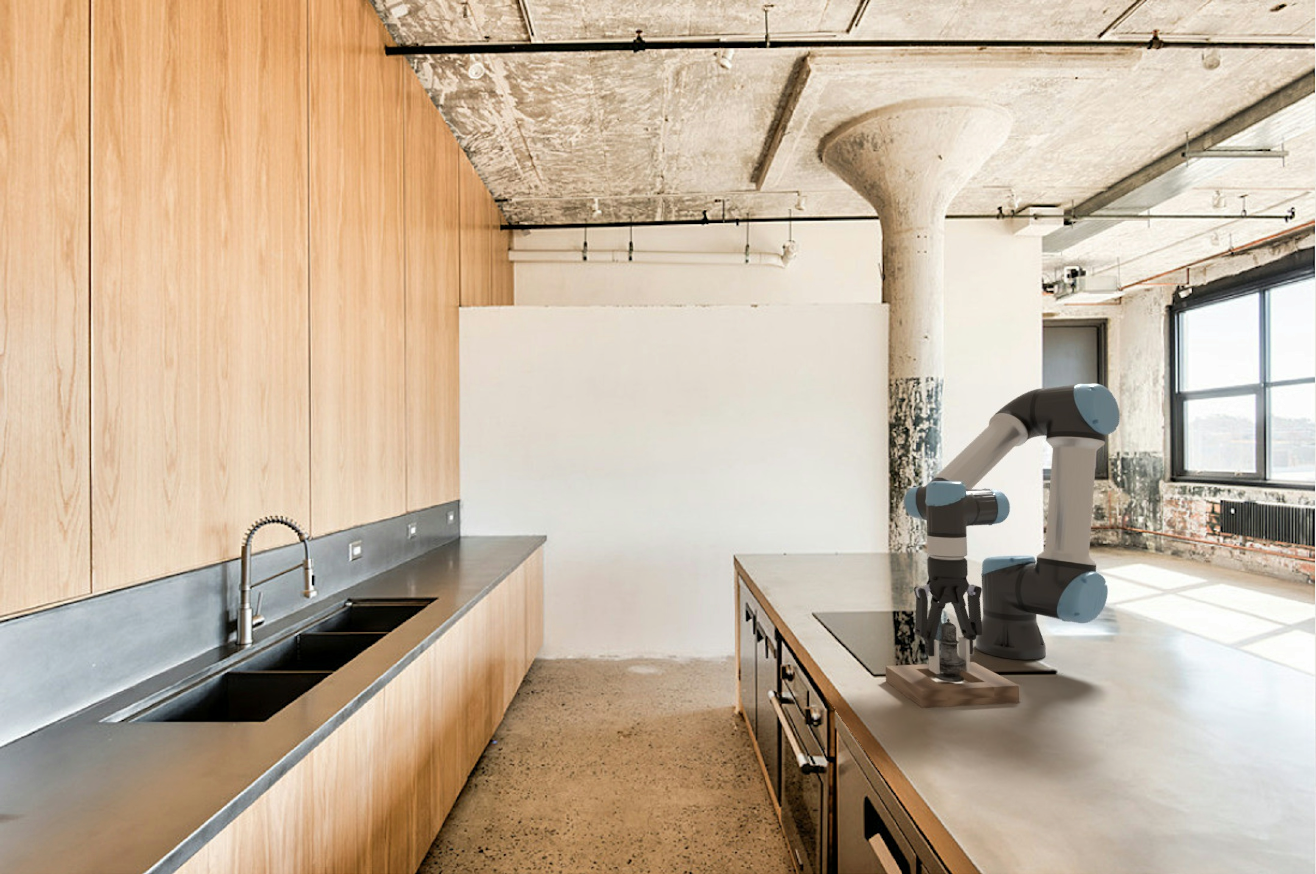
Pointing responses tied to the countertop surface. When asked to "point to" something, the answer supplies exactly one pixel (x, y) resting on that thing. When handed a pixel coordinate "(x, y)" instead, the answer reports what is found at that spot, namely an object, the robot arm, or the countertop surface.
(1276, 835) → the countertop surface
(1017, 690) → the wooden frame
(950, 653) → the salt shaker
